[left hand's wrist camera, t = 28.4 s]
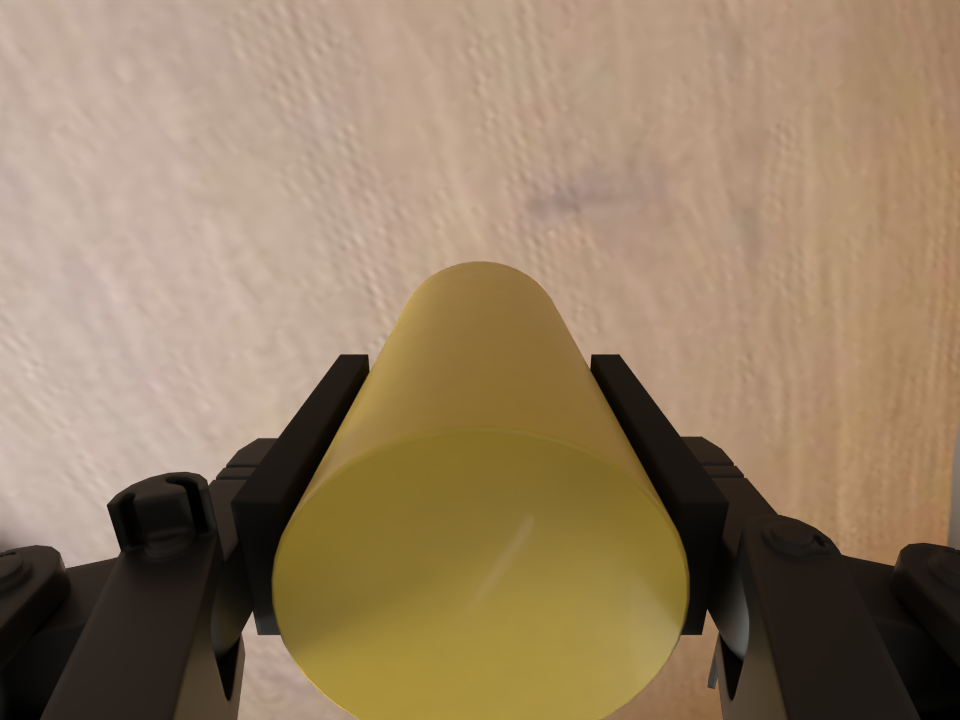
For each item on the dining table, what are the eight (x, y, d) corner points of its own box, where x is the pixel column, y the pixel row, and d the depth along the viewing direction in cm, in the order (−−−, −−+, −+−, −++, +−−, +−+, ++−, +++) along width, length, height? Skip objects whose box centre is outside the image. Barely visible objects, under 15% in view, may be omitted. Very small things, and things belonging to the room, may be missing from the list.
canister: (453, 226, 17) (403, 338, 6) (597, 320, 18) (784, 564, 7) (367, 366, 19) (202, 657, 8) (502, 444, 20) (531, 795, 9)
